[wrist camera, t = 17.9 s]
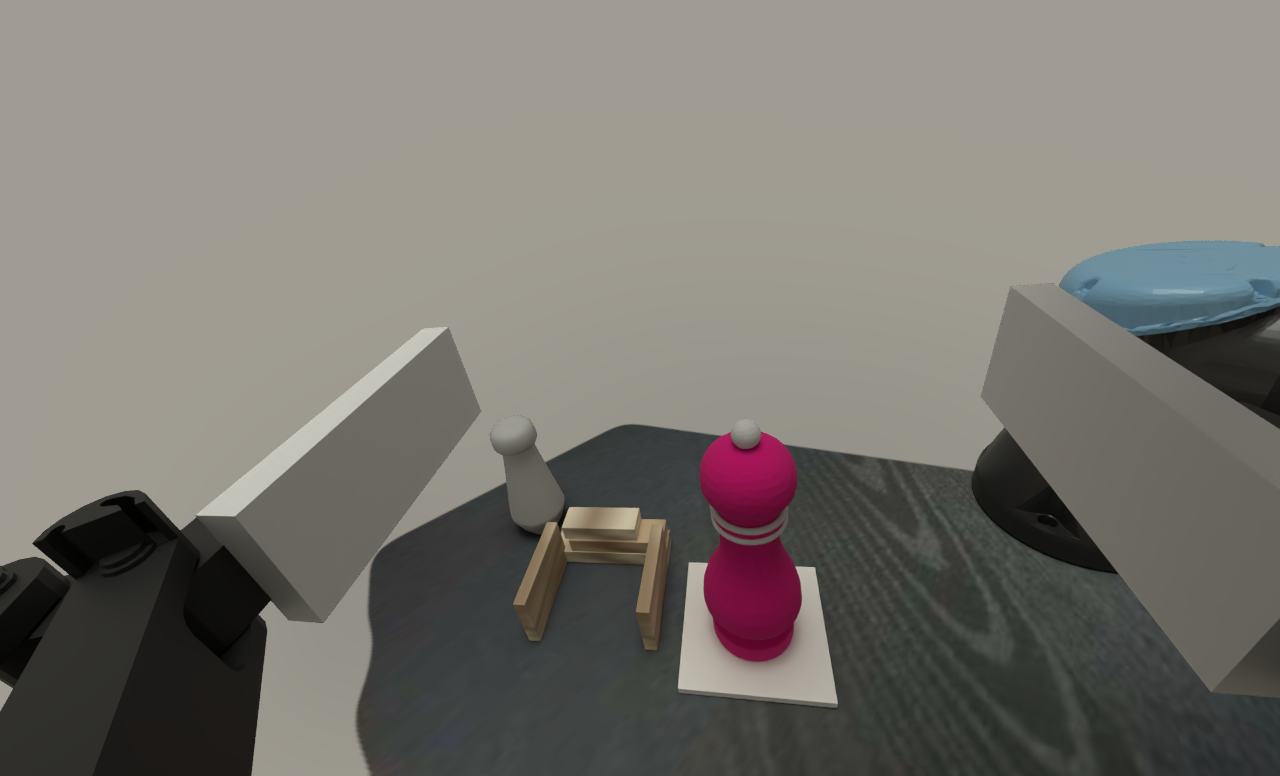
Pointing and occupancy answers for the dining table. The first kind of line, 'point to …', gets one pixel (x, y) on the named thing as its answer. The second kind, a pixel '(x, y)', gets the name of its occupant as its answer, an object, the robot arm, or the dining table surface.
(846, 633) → the dining table surface
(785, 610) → the pepper mill
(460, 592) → the dining table surface
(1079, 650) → the dining table surface
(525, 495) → the salt shaker
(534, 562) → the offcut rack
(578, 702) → the dining table surface
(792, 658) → the mat
